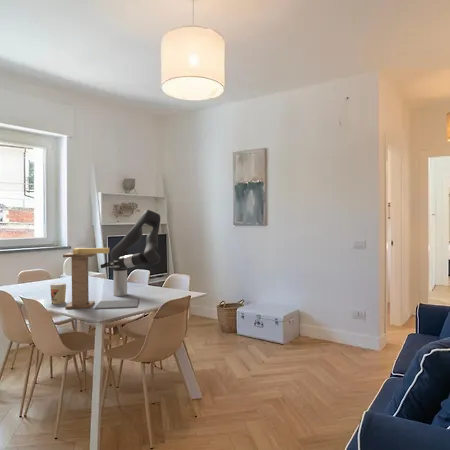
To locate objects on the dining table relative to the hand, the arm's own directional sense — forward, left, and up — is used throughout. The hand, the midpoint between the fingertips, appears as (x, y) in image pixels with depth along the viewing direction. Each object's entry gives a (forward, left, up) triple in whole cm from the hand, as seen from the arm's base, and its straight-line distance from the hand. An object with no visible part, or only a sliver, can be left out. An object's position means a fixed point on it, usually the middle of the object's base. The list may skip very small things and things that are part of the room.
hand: (105, 266), depth 238 cm
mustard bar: (-1, -8, +8) cm, 11 cm away
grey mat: (-1, +7, -24) cm, 25 cm away
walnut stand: (-1, -15, -24) cm, 28 cm away
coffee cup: (-14, -31, -24) cm, 42 cm away
